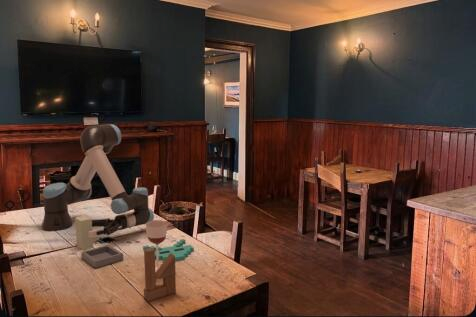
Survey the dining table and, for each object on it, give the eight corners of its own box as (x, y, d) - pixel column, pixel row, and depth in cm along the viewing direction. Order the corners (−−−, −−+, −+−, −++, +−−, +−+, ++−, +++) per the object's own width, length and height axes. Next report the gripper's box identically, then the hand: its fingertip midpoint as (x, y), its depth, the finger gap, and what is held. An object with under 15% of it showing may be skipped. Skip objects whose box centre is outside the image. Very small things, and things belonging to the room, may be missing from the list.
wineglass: (159, 277, 151) (157, 227, 148) (143, 271, 156) (141, 224, 153) (172, 269, 158) (171, 222, 155) (157, 264, 162) (155, 219, 160)
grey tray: (81, 258, 169) (81, 252, 169) (108, 251, 178) (108, 244, 177) (95, 268, 159) (95, 261, 158) (123, 260, 167) (123, 253, 167)
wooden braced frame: (176, 293, 139) (174, 245, 136) (148, 302, 132) (146, 252, 130) (171, 289, 141) (170, 242, 139) (143, 297, 135) (141, 249, 133)
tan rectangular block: (76, 246, 184) (74, 217, 182) (87, 243, 187) (85, 215, 185) (82, 250, 179) (80, 221, 177) (93, 247, 182) (91, 218, 180)
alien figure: (143, 250, 180) (154, 266, 162) (143, 245, 179) (154, 261, 162) (184, 243, 189) (199, 257, 171) (183, 238, 188) (199, 252, 171)
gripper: (137, 234, 188) (94, 245, 173) (113, 223, 205) (73, 232, 191) (136, 219, 186) (93, 229, 172) (112, 209, 204) (72, 217, 190)
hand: (82, 231), depth 181 cm, fingers open, 13 cm apart
